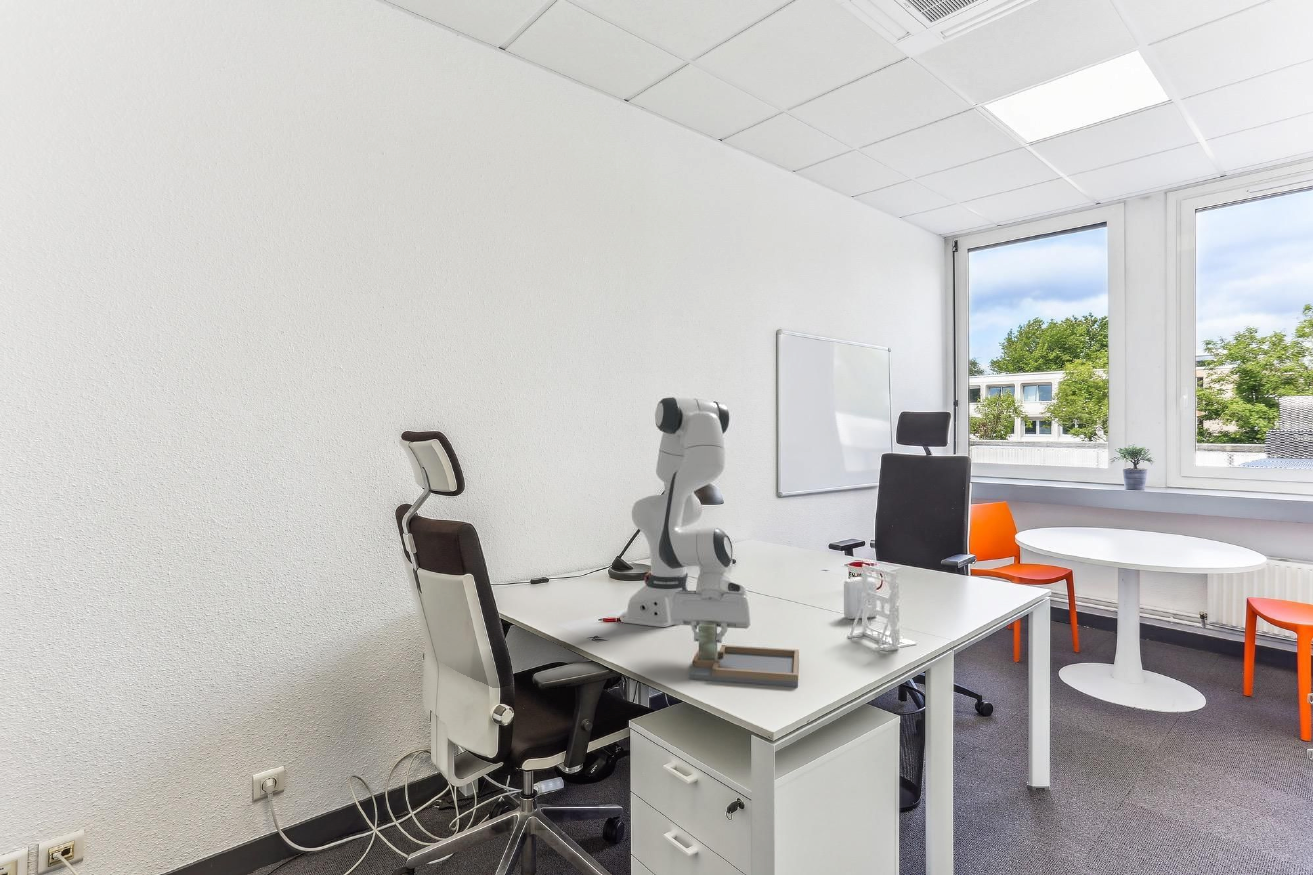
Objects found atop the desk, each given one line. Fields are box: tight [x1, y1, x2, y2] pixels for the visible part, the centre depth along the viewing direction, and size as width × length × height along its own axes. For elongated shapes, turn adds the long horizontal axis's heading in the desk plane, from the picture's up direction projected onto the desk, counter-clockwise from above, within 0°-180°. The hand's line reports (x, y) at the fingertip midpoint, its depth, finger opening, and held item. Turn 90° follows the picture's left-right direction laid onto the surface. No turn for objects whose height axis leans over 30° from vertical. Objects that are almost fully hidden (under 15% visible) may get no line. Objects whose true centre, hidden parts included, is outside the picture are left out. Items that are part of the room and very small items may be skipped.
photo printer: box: [843, 576, 878, 620], centre depth 194 cm, size 10×4×12 cm, turn 103°
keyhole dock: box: [688, 644, 800, 688], centre depth 153 cm, size 25×17×3 cm
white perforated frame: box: [846, 563, 918, 652], centre depth 172 cm, size 14×14×20 cm
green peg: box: [697, 621, 718, 661], centre depth 155 cm, size 4×4×9 cm
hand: (707, 641), depth 155 cm, fingers closed on green peg, 4 cm apart
